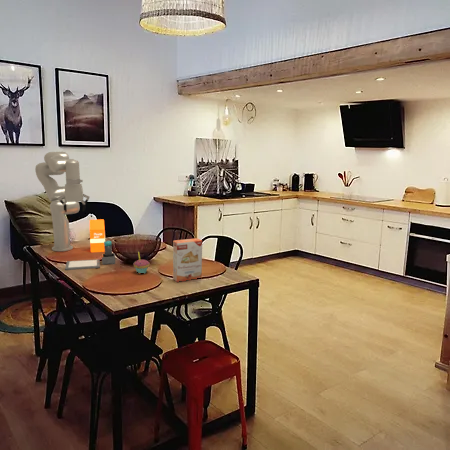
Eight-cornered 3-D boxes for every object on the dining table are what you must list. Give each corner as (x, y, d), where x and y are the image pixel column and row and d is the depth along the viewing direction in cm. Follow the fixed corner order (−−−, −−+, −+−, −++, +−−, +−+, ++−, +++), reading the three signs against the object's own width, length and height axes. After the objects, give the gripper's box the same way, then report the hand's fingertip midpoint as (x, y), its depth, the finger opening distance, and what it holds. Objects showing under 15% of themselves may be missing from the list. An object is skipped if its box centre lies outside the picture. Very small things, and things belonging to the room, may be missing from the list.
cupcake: (130, 273, 233) (130, 252, 230) (139, 269, 241) (138, 248, 238) (144, 275, 230) (144, 254, 227) (152, 271, 238) (152, 250, 235)
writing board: (67, 262, 250) (67, 260, 250) (99, 260, 255) (99, 259, 255) (65, 270, 237) (65, 268, 237) (99, 267, 242) (99, 266, 241)
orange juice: (91, 249, 279) (89, 218, 275) (105, 248, 281) (104, 218, 277) (90, 252, 271) (89, 221, 267) (105, 251, 274) (104, 220, 269)
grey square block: (102, 261, 254) (101, 253, 253) (114, 260, 256) (114, 253, 255) (102, 264, 247) (101, 257, 246) (115, 264, 249) (115, 256, 248)
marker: (105, 260, 253) (103, 241, 250) (112, 260, 254) (111, 240, 251) (105, 263, 249) (104, 242, 246) (112, 262, 250) (111, 242, 247)
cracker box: (177, 282, 220) (176, 242, 216) (172, 279, 225) (172, 240, 221) (202, 279, 227) (202, 240, 222) (197, 275, 232) (197, 237, 227)
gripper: (89, 181, 256) (90, 209, 260) (57, 181, 251) (59, 210, 255) (88, 182, 249) (90, 212, 253) (56, 182, 244) (58, 212, 248)
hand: (74, 211), depth 254 cm, fingers open, 9 cm apart
